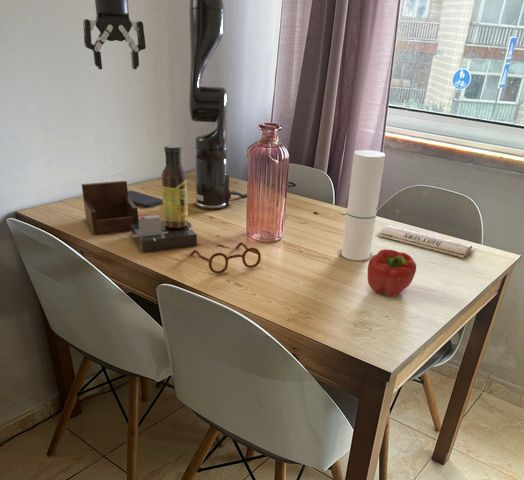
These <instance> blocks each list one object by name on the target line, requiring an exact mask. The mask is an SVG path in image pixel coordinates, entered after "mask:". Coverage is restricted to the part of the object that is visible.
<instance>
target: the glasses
mask: <svg viewBox="0 0 524 480" xmlns="http://www.w3.org/2000/svg"><path fill="white" fill-rule="evenodd" d="M241 246H242V247H243V248H244V249H245V250H244V251H243V252H242V254H240V253H238V254H232V255H229V256H227V255H226V254H225V253H223V252H215V253H213V254H211V256H210V257H209V258H208V257H206V256H204V255H202V254H201V253H200V252H199V251H198V250H197V249H194V250H193V251H191V252H190V253H189V256H190V257H192V256H193V255H195V254H196V255H197V256H198V258H199V259H201V260H204V261H206V262H207V263H208V267H209V270H210V271H211V272H212V273H214V274H216V275H218V274H219V275H220V274H223V273H224V272H226V270H227V269H228V266H229V260H231V259H236V258H241V259H242V264H243V266H244V267H245V268H248V269H254V268H256V267H257V266H258V265H259V264H260V262H261V259H262V255H261V251H260V250H259V249H258V248H256V247H248V246H247V245H246V244H245V243H244V242H242V241H240V242H239V243H238V244H237V245H236V246H235V250H238V249H239V248H240V247H241ZM248 252H250V253H253V254H255V255H257V261H256V262H255V263H254V264H252V265H250V264H248V263H247V262H246V255H247V254H248ZM218 256H221V257H223V258H224V261H225V263H224V267H223V268H222V269H221V270H215V269H214V268H213V265H212V262H213V260H214V259H215V258H216V257H218Z"/></svg>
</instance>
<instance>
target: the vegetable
mask: <svg viewBox="0 0 524 480" xmlns="http://www.w3.org/2000/svg"><path fill="white" fill-rule="evenodd" d="M416 272H417V264H416V262H415V261H414V259H413V258H412V257H411V255H410V254H407V253H406V252H399V251H397V250H394V249H389V248H388V249H387V248H385V249H381V250H378V252H377V253H376V254H374V255H372V257H370V258H369V261H368V265H367V283H368V286H369V288H370V289H371V290H372V291H373V292H374V293H377V294H383V293H384V294H385V295H386V296H389V297H395V296H399V295H400V294H401V293H403V291H404V290H405V289H406V288H408V287H409V286H410V285H411V283H412V282H413V280H414V277H415V275H416Z"/></svg>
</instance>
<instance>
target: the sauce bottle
mask: <svg viewBox="0 0 524 480" xmlns="http://www.w3.org/2000/svg"><path fill="white" fill-rule="evenodd" d="M164 154H165V166H164V168H163V170H162V173H161V181H162V184H161V192H162V193H161V195H162V213H163V221H164V223H165V226H167V227H169V228H182V227H185V226H187V222H188V220H189V210H188V180H187V179H188V178H187V175H186V173H185V171H184V167H183V165H182V146H181V145H179V144H166V145H164Z"/></svg>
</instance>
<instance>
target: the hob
mask: <svg viewBox="0 0 524 480" xmlns="http://www.w3.org/2000/svg"><path fill="white" fill-rule="evenodd" d="M161 222H162V221H160V223H161ZM130 232H131V233H130V234H131V237H132V239H133V240H134V241H135V243H136V245H137V246H138V247H139V249H140V250H141V251H142V253H149V252H156V251H165V250H172V249H180V248H181V249H182V248H188V247H197V246H198V236H197V233H196V232H195V231H194V229H192V227H191V228H190V229H189V230H186V231H182V232H167V231H163V230H161V235H153V236H145V237H141V235H140V232H139V224H135V225H131V230H130Z"/></svg>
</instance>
